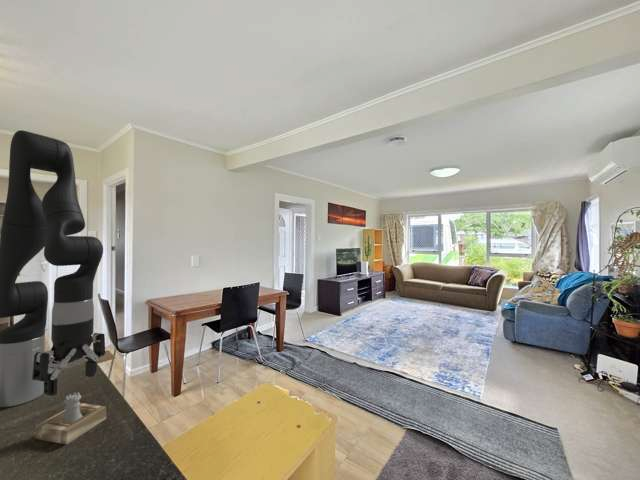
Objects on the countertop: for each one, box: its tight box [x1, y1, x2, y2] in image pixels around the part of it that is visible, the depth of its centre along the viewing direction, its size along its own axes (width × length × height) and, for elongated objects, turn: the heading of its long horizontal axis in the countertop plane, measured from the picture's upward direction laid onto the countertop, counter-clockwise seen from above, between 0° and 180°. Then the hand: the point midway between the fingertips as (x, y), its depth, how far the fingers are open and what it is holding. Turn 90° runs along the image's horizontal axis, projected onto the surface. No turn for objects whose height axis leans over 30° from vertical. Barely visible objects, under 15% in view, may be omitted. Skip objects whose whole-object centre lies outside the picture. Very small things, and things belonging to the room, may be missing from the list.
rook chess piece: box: [62, 392, 83, 425], centre depth 65 cm, size 4×4×8 cm
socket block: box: [35, 402, 107, 445], centre depth 65 cm, size 9×9×3 cm
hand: (71, 384), depth 65 cm, fingers open, 8 cm apart
